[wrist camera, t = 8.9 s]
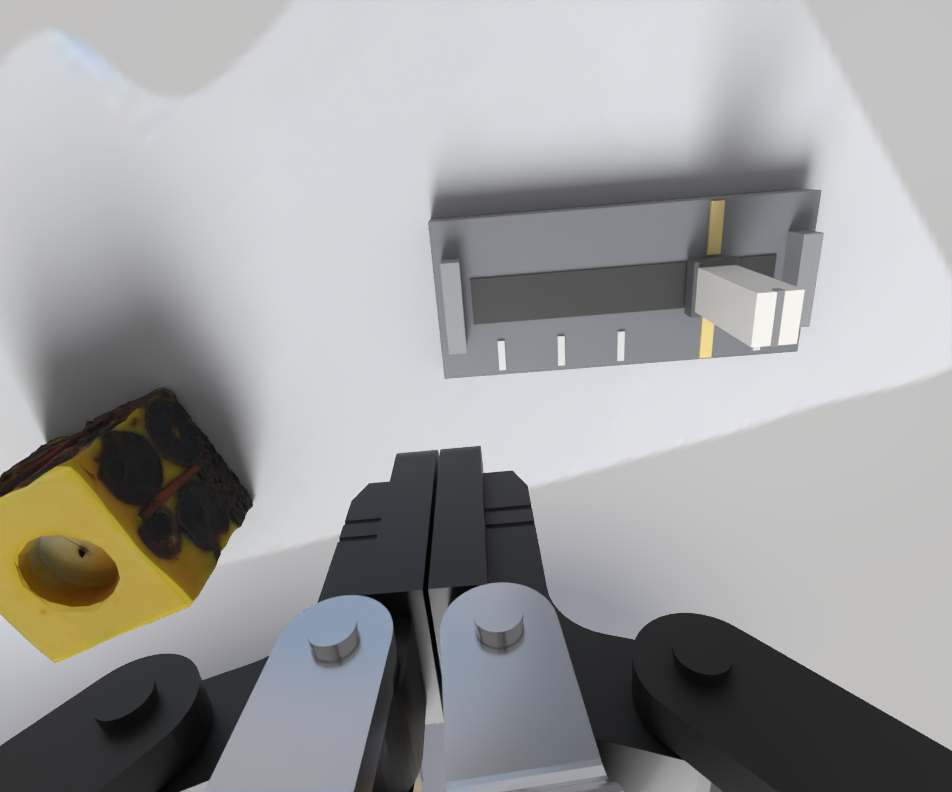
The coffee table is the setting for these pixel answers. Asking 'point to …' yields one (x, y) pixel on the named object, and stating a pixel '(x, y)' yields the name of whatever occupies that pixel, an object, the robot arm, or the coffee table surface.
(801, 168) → the coffee table surface
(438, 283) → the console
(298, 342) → the coffee table surface
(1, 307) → the coffee table surface
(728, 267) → the fader
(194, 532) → the candle
